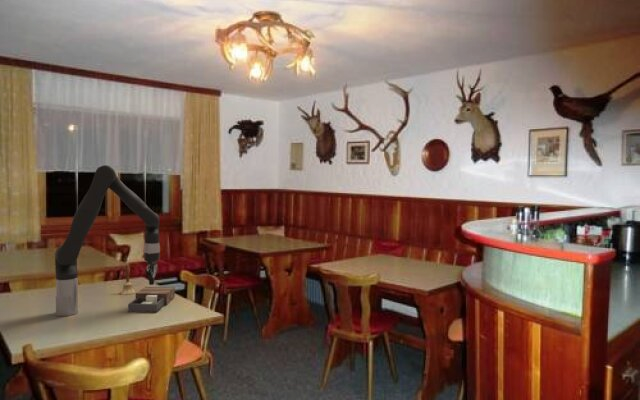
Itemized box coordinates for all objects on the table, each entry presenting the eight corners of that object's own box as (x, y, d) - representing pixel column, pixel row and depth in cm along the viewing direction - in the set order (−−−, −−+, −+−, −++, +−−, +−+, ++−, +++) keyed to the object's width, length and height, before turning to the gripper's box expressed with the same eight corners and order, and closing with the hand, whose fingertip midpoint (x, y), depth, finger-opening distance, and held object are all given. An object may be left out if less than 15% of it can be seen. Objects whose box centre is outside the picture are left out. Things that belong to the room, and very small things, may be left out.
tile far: (157, 304, 236) (155, 306, 233) (147, 304, 236) (145, 306, 233) (157, 295, 236) (155, 296, 233) (147, 295, 235) (145, 296, 233)
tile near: (153, 301, 233) (153, 306, 233) (143, 301, 233) (143, 306, 233) (150, 304, 228) (150, 309, 228) (140, 304, 228) (140, 309, 228)
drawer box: (166, 305, 237) (166, 293, 237) (135, 304, 237) (135, 293, 236) (174, 297, 251) (174, 287, 251) (145, 297, 251) (145, 286, 250)
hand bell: (132, 295, 255) (131, 266, 254) (117, 294, 255) (117, 266, 254) (138, 291, 264) (138, 263, 263) (123, 290, 264) (123, 263, 263)
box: (156, 312, 225) (156, 304, 225) (128, 312, 225) (128, 304, 224) (164, 305, 237) (164, 297, 237) (137, 305, 237) (137, 297, 236)
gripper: (149, 249, 243) (148, 281, 244) (139, 253, 230) (139, 287, 231) (163, 249, 243) (163, 281, 244) (154, 253, 230) (154, 287, 231)
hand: (151, 284), depth 237 cm, fingers closed
